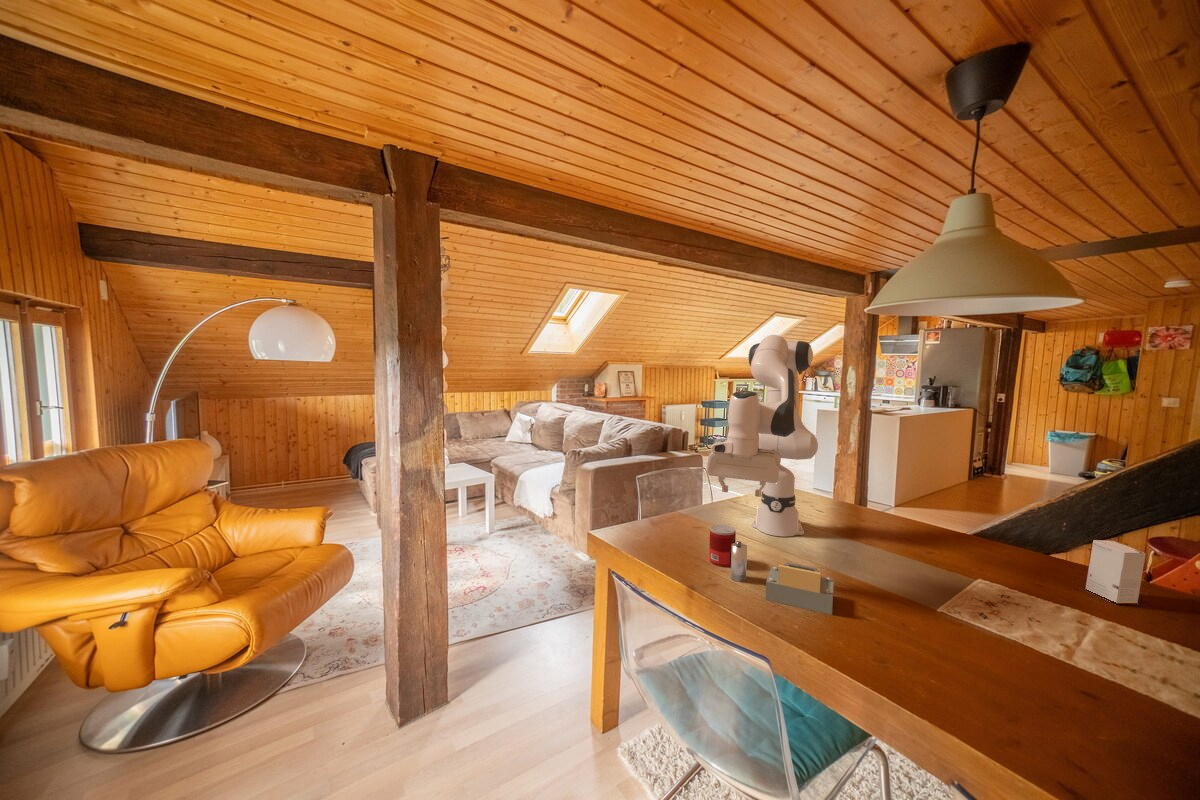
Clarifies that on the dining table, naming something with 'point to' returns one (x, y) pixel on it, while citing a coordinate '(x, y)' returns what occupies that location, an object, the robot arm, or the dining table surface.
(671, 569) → the dining table surface
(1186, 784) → the dining table surface
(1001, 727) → the dining table surface
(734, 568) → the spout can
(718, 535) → the canned food
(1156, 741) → the dining table surface
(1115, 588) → the skincare box
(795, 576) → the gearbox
